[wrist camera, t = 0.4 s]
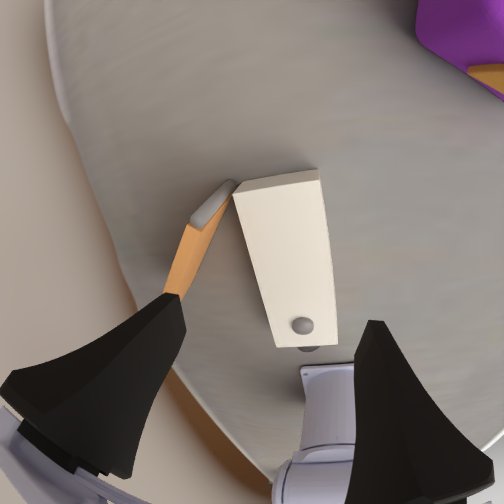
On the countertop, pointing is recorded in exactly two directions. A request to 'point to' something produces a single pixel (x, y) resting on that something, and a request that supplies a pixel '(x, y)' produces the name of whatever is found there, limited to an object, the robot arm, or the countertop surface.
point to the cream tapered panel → (291, 256)
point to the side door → (197, 239)
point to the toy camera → (466, 37)
